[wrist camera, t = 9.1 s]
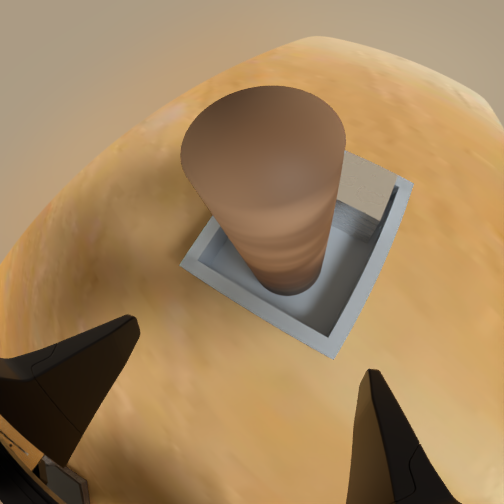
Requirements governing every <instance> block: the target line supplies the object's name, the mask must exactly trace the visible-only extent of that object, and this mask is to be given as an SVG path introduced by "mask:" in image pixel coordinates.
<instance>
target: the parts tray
mask: <svg viewBox="0 0 504 504" xmlns="http://www.w3.org/2000/svg"><path fill="white" fill-rule="evenodd" d="M345 153H346V151H345V152H344V155H345ZM413 185H414V183H412V182H410V181H408V180H406V179H404V178H402V177H400V176H399V175H398V177H397V180H396V182H395V185H394V188H393V190H392V193H391V195H390V198H389V201H388V203H387V205H386V208H385V210H384V213H383V215H382V218H381V220H380V222H379V224H378V226H377V227H376V229H375V231H374V233H373V234H372V236H371V238H370V239H369V241H368V243H367V244H366V243H364V242H362V241H360V240H359V239H357V238H355V237H353V236H351V235H349V234H347V233H345V232H343V231H341V230H339V229H337V228H335V227H333V226H331V229H330V234H329V238H328V243H327V247H326V252H325V256H324V260H323V265H322V269H321V273H320V275H319V277H318V279H317V281H316V282H315V283H314V284H313V285H312V286H311V287H310V288H309V289H308V290H306V291H305V292H303V293H300V294H298V295H293V296H281V295H277V294H274V293H272V292H270V291H268V290H267V289H266V288H264V287H263V286H262V285H261V283H260V282H259V281H258V279H257V278H256V276H255V275H254V274H253V272H252V271H251V269H250V268H249V266H248V265H247V264H246V262H245V261H244V259H243V258H242V256H241V255H240V254H239V252H238V251H237V249H236V248H235V246H234V245H233V244H232V242H231V241H230V239H229V238H228V236H227V235H226V234H225V232H224V231H223V229H222V228H221V226H220V225H219V223H218V222H217V221H216V219H215V218H214V216H212V217H211V219H210V220H209V221H208V223H207V224H206V226H205V227H204V229H203V230H202V232H201V233H200V235H199V236H198V238H197V239H196V240H195V242H194V243H193V245H192V246H191V248H190V249H189V251H188V252H187V254H186V256H185V257H184V259H183V260H182V262H181V263H180V265H179V266H181V267H182V268H184V269H185V270H187V271H188V272H190V273H191V274H193V275H194V276H196V277H197V278H199V279H200V280H202V281H203V282H205V283H206V284H208V285H209V286H211V287H212V288H214V289H216V290H217V291H219V292H220V293H222V294H223V295H225V296H226V297H228V298H230V299H231V300H233V301H234V302H236V303H238V304H239V305H241V306H242V307H244V308H246V309H247V310H249V311H250V312H252V313H254V314H255V315H257V316H259V317H260V318H262V319H264V320H265V321H267V322H269V323H270V324H272V325H274V326H275V327H277V328H279V329H280V330H282V331H284V332H285V333H287V334H289V335H290V336H292V337H294V338H296V339H297V340H299V341H301V342H303V343H304V344H306V345H308V346H310V347H311V348H313V349H315V350H317V351H318V352H320V353H322V354H324V355H326V356H327V357H329V358H331V359H333V360H334V358H335V357H336V355H337V353H338V352H339V350H340V348H341V347H342V345H343V343H344V341H345V340H346V338H347V336H348V334H349V332H350V331H351V329H352V327H353V325H354V323H355V321H356V320H357V318H358V316H359V314H360V312H361V310H362V308H363V306H364V304H365V302H366V300H367V298H368V296H369V294H370V292H371V290H372V288H373V286H374V284H375V282H376V279H377V277H378V275H379V273H380V271H381V269H382V266H383V264H384V262H385V259H386V257H387V255H388V252H389V250H390V248H391V245H392V243H393V240H394V238H395V235H396V233H397V230H398V228H399V225H400V222H401V220H402V217H403V214H404V211H405V209H406V206H407V203H408V200H409V197H410V194H411V191H412V188H413Z"/></svg>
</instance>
